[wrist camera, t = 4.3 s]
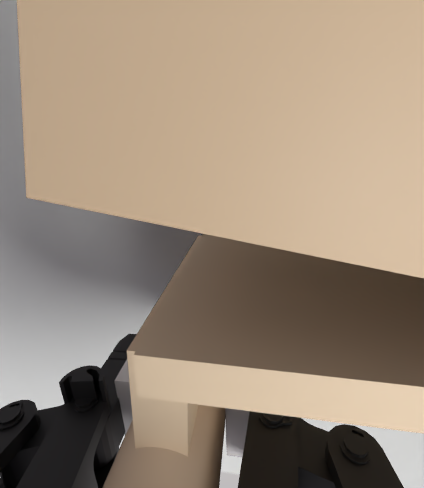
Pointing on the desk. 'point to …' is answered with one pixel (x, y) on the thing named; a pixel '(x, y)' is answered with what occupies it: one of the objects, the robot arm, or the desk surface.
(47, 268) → the desk surface
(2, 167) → the desk surface
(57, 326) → the desk surface
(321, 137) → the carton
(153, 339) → the flap
